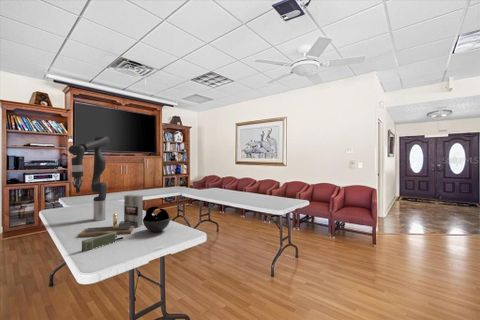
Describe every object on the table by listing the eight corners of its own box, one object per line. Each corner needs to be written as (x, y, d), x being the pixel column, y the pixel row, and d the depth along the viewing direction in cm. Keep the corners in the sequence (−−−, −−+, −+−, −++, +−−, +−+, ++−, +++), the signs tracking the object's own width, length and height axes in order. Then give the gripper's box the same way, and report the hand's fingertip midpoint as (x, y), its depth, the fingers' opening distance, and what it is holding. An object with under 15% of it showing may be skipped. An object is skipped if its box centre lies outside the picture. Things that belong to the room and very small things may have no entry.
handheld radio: (81, 250, 139) (121, 238, 160) (83, 252, 137) (124, 240, 158) (81, 240, 139) (122, 229, 159) (83, 241, 137) (124, 230, 158)
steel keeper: (120, 227, 177) (120, 221, 177) (130, 227, 179) (130, 220, 179) (118, 230, 171) (118, 223, 171) (129, 229, 173) (129, 223, 173)
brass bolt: (113, 228, 174) (113, 213, 174) (125, 227, 177) (125, 212, 177) (112, 229, 172) (112, 214, 171) (124, 229, 174) (124, 213, 174)
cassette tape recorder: (123, 226, 188) (123, 195, 188) (128, 223, 194) (128, 194, 194) (137, 227, 185) (137, 196, 185) (142, 225, 191) (142, 195, 191)
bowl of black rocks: (143, 228, 183) (143, 204, 182) (169, 226, 190) (169, 203, 189) (142, 236, 164) (142, 210, 164) (171, 233, 171) (171, 208, 171)
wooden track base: (85, 231, 174) (85, 226, 174) (134, 227, 183) (134, 223, 183) (78, 237, 161) (78, 232, 161) (130, 233, 170) (130, 228, 170)
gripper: (79, 171, 174) (79, 194, 175) (86, 169, 187) (86, 190, 188) (67, 171, 172) (68, 194, 173) (75, 170, 185) (76, 191, 186)
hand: (78, 192), depth 180 cm, fingers closed
